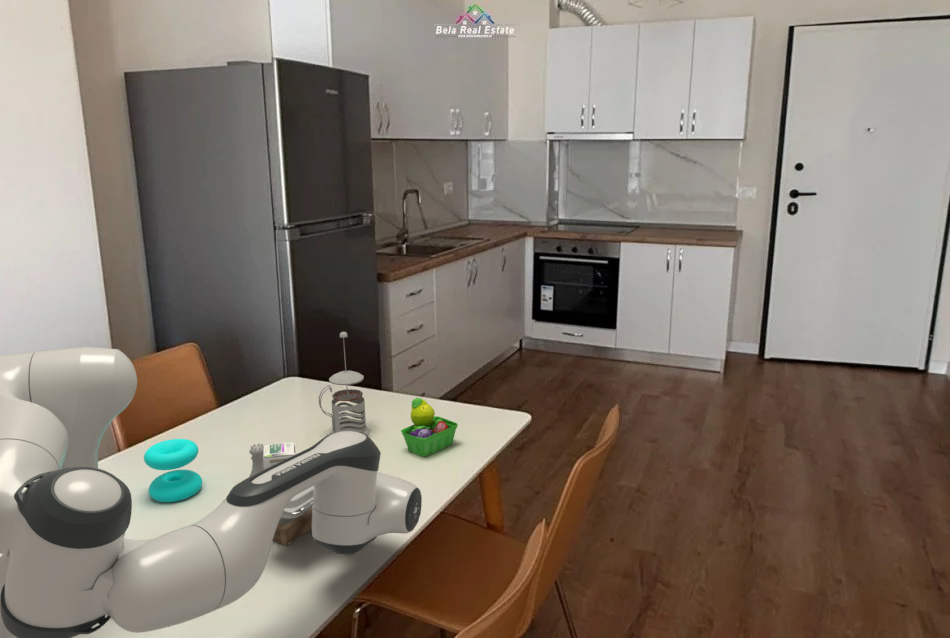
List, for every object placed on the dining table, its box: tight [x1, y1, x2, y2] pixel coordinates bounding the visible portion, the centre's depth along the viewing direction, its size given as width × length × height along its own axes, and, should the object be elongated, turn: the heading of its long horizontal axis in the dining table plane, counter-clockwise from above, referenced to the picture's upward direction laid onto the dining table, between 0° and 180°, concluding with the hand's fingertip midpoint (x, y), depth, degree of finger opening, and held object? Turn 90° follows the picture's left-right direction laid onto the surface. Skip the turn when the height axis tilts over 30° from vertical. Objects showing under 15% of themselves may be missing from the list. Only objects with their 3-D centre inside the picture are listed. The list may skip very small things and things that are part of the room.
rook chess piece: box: [248, 443, 265, 478], centre depth 147 cm, size 4×4×8 cm
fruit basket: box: [400, 397, 459, 458], centre depth 162 cm, size 11×9×11 cm
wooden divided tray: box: [272, 509, 312, 547], centre depth 136 cm, size 21×11×3 cm, turn 151°
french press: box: [318, 331, 371, 437], centre depth 169 cm, size 10×12×25 cm
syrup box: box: [263, 442, 297, 525], centre depth 130 cm, size 6×6×14 cm
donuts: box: [143, 438, 203, 503], centre depth 143 cm, size 10×10×10 cm
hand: (278, 473), depth 130 cm, fingers open, 8 cm apart
